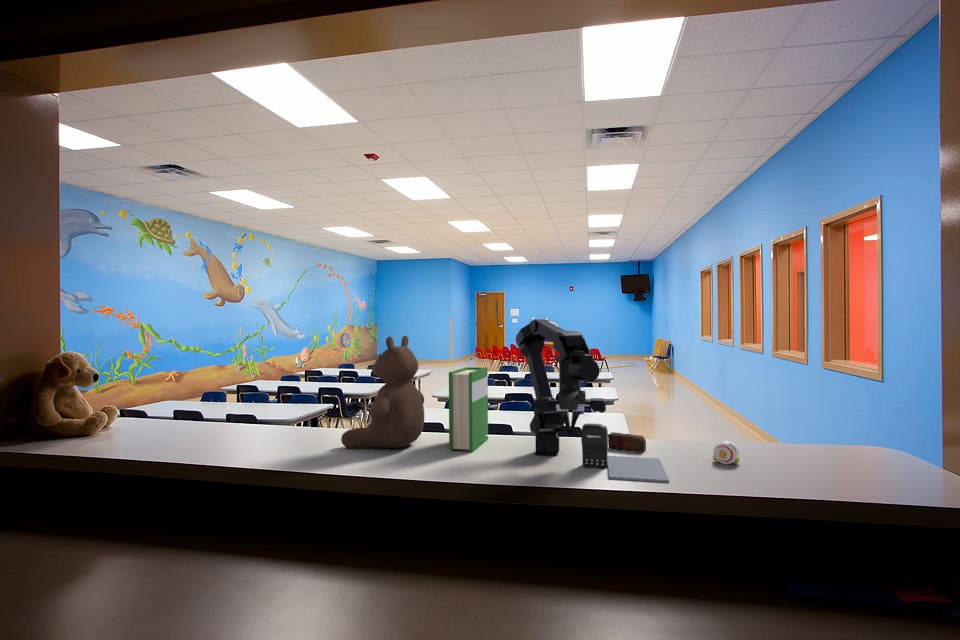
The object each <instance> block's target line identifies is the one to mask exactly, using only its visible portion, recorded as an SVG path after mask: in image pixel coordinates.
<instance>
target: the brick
mask: <svg viewBox="0 0 960 640" xmlns="http://www.w3.org/2000/svg"><path fill="white" fill-rule="evenodd" d="M609 448H610V449H609ZM608 449H609V450H613V449H617V450H616V451H621V450H625V451H624V452H630V451H636V452H635V453H639V452H644V450H647V441H646V438H645V437H644V436H643V435H641V434H640V435H639V434H629V433H623V432H615V431H614V432H612V431H611V432H609V433H608Z"/></svg>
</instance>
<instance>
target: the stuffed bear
mask: <svg viewBox="0 0 960 640" xmlns="http://www.w3.org/2000/svg"><path fill="white" fill-rule="evenodd" d="M409 341H410V340H409V337H408V336H407V335H403V336H402V338H401V341H400V342H401V345H397V346H395V342H394V339H393V337H392V336H391V335H390V336H387V337H386V339H385V345H386V347H387V349H385V350H384V351H383V352H382V353H380V354H378V356H377V359H376V360H375V362H374V363H373V364H371V365H370V367H371V368H370V369H371V372H372V373H373V375H375V376H377V378H379V379H380V380H382V381H383V382H384V384H383V385H382V386H381V387H380V388H379V389H378V391H377V394H376V397H375V399H374V401H373V402H372V404H371V406H370V408H369V415H370V420H371V421H370V423H369V424H368V425H367V426H366V427H357V428H356V427H355V428H351V429H348V430H346V431H344V433H342V435H341V439H340V441H341V444H342V445H343V446H344V447H345V448H347V449H349V448H350V449H362V448H363V449H366V448H368V449H369V448H370V449H372V448H373V449H374V448H378V449H379V448H380V449H381V448H382V449H399V448H403V447H406V446H409V445H410V444H412V443H414V442H416V441H417V440H418V439H419V437H420V436H421V435H422V433H423V430H424V426H425V425H424V424H425V408H424V403H425V396H424V394H423V393H422V392H421V391H420V390H419V389H418V388H417V386H416V385H414V384H413V383H412V382H411V381H412V379H414V377H415V376H416V375H417V372H418V370H419V362H418V361H419V360H418V359H417V357H416V356H415V354H414V352H413V351H412V350H411V348H409V347H408V346H409Z"/></svg>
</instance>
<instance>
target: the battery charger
mask: <svg viewBox="0 0 960 640" xmlns="http://www.w3.org/2000/svg"><path fill="white" fill-rule="evenodd" d="M581 427H582V428H581V431H580V432H581V433H580V434H581V437H580V439H581V441H580V443H581V452H582V453H581V455H582V457H581V459H582V461H581V463H582V466H583V467H587V468H593V467H596V469H606V468H608V456H609V455H608V453H609V452H608V451H609V445H608V435H609V430H608V427H607V426H606V425H605V424H603V423H595V422H593V423H592V422H586V423H584V424H583V425H582V426H581Z"/></svg>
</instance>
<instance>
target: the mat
mask: <svg viewBox="0 0 960 640" xmlns="http://www.w3.org/2000/svg"><path fill="white" fill-rule="evenodd" d="M607 469H608V471H609V472H608V480H616V479H620V481H633V480H636V481H635V482H638V481H639V482H649V481H650V482H651V483H652V482H653V483H654V482H655V483H670V479H669V476H668V475H667V472H666V471H665V468H664V466H663V464H662V462H661V459H660V458H659V457H640V456H639V457H638V456H621V455H620V456H619V455H608V466H607Z"/></svg>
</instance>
